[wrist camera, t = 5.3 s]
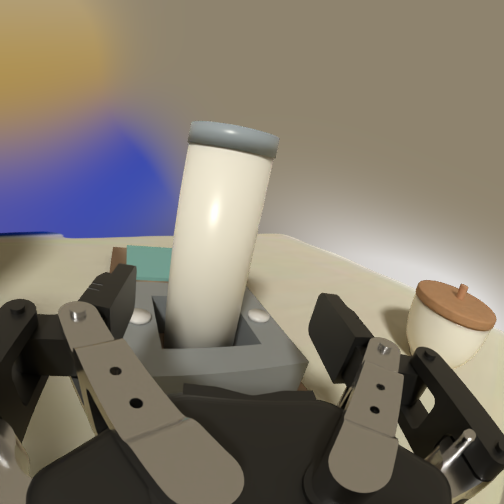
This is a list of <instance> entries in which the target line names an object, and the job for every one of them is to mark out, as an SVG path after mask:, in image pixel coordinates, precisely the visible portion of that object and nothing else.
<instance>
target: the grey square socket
mask: <svg viewBox="0 0 504 504" xmlns="http://www.w3.org/2000/svg"><path fill="white" fill-rule="evenodd" d="M167 293H168V283H159V282H136V297H135V307H134V312H133V315H132V317H131V320H130V322H129V324H128V327H127V329H126V332H125V334H124V337H123V339H125V340H126V342H127V343H128V345H129V346H130V348H131V349H132V350H133V352H134V353H135V355H136V356H137V357H138V359H139V360H140V362H141V363H142V364H143V366H144V367H145V368H146V370H147V371H148V372H149V374H150V375H151V376H152V378H153V379H154V380H155V382H156V383H157V384H158V385H159V387H160V388H161V389H162V390H163V392H164V393H165V394H166V395H167V394H172V393H180V392H183V384H184V383H189V384H197V385H206V386H215V387H220V388H224V389H228V390H231V391H235V392H239V393H243V394H248V395H260V394H266V393H272V392H278V391H297V389H298V387H299V385H300V382H301V380H302V378H303V375H304V373H305V370H306V368H307V365H308V363H309V361H308V360H307V359H306V357H305V356H304V355H303V354H302V353H301V351H300V350H299V349H298V348H297V347H296V345H295V344H294V343H293V342H292V341H291V340H290V338H289V337H288V336H287V335H286V334H285V332H284V331H283V330H282V329H281V328H280V326H279V325H278V324H277V323H276V321H275V320H274V319H273V318H272V317H271V315H270V314H269V313H268V312H267V311H266V309H265V308H264V307H263V306H262V304H261V303H260V302H259V301H258V300H257V298H256V297H255V296H254V295H253V293H252V292H251V291H250V290H249V288H248V287H247V286H246V288H245V292H244V297H243V302H242V306H241V311H240V315H239V320H238V325H237V329H236V334H235V338H234V343H233V346H230V347H212V348H186V349H162V347H161V342H160V338H159V333H164V331H165V317H166V304H167Z"/></svg>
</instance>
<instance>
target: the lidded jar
mask: <svg viewBox="0 0 504 504" xmlns="http://www.w3.org/2000/svg"><path fill="white" fill-rule="evenodd" d="M467 290H468V287H467V286H466V285H464V284H461V285H460V288H459V289H458V288H456V287H453V286H451V285H447V284H445V283H441V282H437V281H431V280H424V281H421V282H419V283H418V286H417V288H416V294H415V296H414V299H413V301H412V304H411V307H410V311H409V314H408V319H407V325H406V333H407V340H408V343H409V346H410V353H411V355H413V354H414V352H415V350H416V348H417V347H427V348H430V349H432V350H434V351H436V352H437V353H438V354H439V355H440V356H441V357H442V358H443V359H444V361H445V362H446V363H447V364H448V365H449V366H450V368H451V369H454V368H457V367H460V366H462V365H464V364H465V363H467V362H468V361H469V360H470V359H472V358H473V357H474V356H475V354H476V353H477V352H478V351H479V349H480V348H481V347H482V345H483V344H484V342H485V340H486V338H487V337H488V335H489V333H490V331H491V329H492V328H493V327H494V325H495V322H496V316H495V314H494V313H493V311H492V310H491V309H490V308H489V307H488V306H487V305H485V304H484V303H483V302H481V301H480V300H479V299H477V298H476V297H474V296H472V295H470V294H468V293H467Z"/></svg>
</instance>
